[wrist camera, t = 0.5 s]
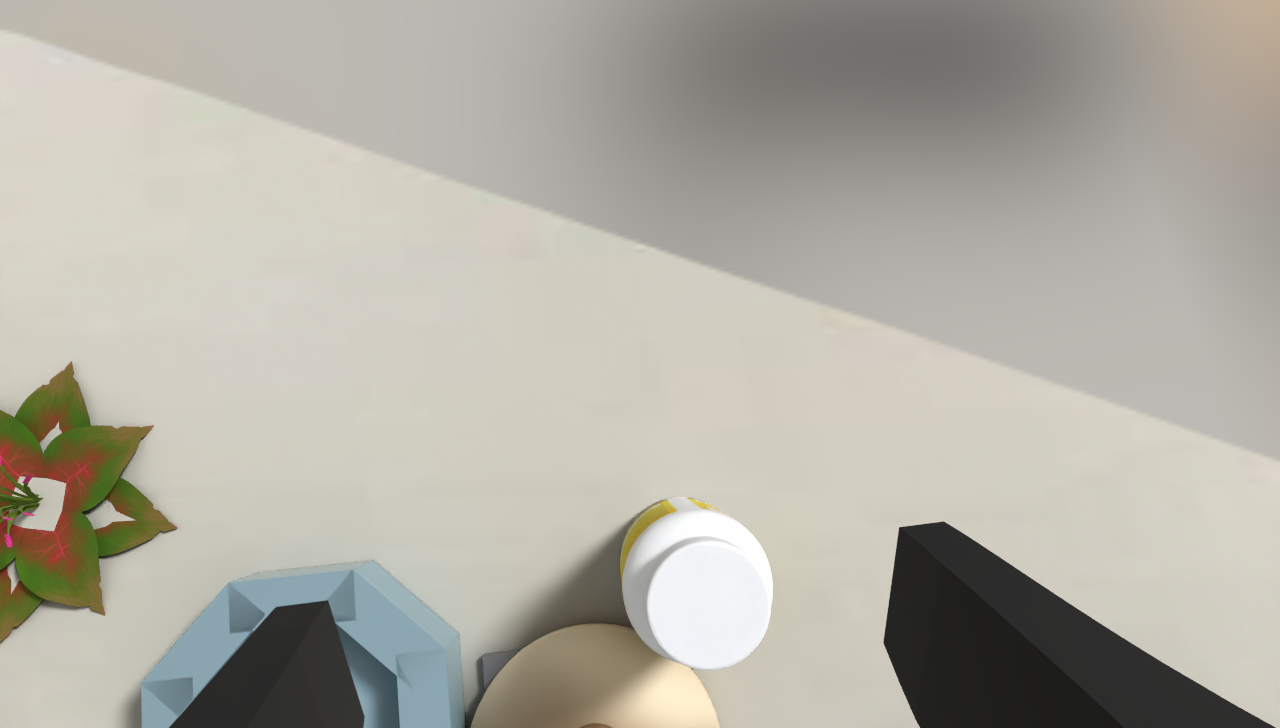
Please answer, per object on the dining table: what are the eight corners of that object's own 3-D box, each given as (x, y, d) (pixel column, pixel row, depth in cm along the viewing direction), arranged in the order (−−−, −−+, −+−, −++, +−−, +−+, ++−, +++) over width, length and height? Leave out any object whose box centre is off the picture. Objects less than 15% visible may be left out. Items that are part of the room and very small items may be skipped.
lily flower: (95, 317, 33) (12, 296, 29) (233, 534, 32) (170, 548, 28) (-145, 469, 32) (-271, 472, 27) (-10, 698, 31) (-117, 741, 27)
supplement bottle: (621, 622, 32) (623, 697, 22) (618, 498, 32) (619, 518, 23) (743, 618, 32) (798, 690, 22) (737, 494, 33) (789, 512, 23)
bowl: (473, 840, 31) (460, 874, 28) (183, 875, 30) (144, 914, 28) (453, 551, 32) (440, 560, 29) (176, 580, 31) (139, 591, 29)
